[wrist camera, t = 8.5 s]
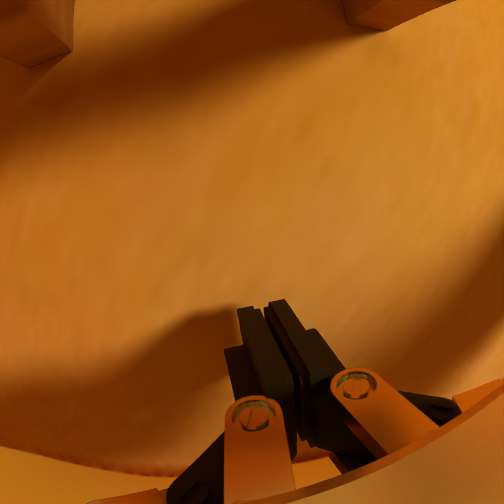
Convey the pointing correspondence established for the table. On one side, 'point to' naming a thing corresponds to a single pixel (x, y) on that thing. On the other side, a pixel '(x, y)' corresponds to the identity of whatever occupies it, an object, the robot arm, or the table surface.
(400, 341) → the table surface
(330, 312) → the table surface
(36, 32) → the bridge
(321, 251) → the table surface
